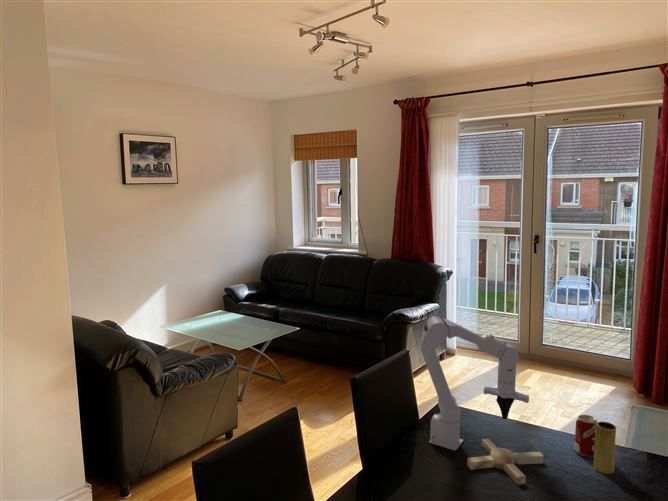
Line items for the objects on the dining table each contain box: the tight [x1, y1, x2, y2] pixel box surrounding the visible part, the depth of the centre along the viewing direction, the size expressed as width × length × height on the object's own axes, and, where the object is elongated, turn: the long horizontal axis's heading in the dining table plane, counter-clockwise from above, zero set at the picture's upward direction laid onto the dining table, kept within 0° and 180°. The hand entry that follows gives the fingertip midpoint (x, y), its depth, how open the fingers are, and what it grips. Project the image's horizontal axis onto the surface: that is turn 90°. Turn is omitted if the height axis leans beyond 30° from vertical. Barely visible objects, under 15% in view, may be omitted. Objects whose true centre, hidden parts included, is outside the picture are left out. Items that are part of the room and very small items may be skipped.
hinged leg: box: [512, 451, 544, 465], centre depth 159 cm, size 9×2×3 cm, turn 93°
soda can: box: [573, 414, 598, 458], centre depth 163 cm, size 7×7×12 cm
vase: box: [592, 421, 617, 475], centre depth 154 cm, size 6×6×14 cm
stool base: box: [466, 438, 526, 486], centre depth 157 cm, size 15×22×4 cm, turn 10°
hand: (505, 417), depth 169 cm, fingers closed
